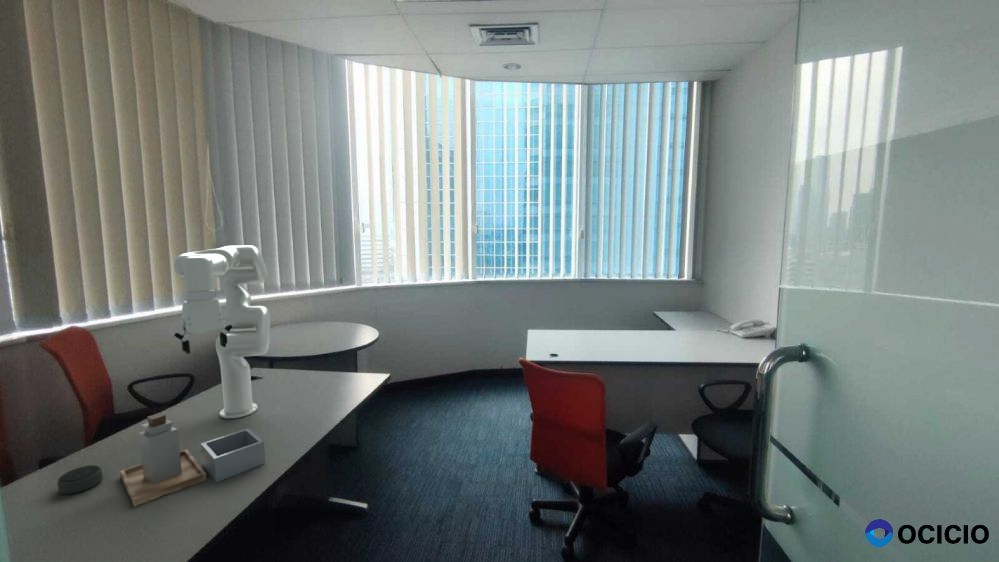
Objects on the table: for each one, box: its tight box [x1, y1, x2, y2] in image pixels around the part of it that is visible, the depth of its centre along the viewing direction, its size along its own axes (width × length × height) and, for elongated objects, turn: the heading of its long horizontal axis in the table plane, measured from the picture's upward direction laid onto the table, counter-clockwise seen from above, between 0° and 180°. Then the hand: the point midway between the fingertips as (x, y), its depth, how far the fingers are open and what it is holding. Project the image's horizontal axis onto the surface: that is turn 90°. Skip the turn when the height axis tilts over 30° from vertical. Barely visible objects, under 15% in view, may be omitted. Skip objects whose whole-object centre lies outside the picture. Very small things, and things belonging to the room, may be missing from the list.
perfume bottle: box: [137, 412, 182, 485], centre depth 123 cm, size 7×7×18 cm
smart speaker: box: [57, 464, 103, 495], centre depth 120 cm, size 9×9×4 cm
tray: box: [119, 449, 207, 507], centre depth 124 cm, size 20×16×2 cm
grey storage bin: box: [200, 428, 266, 483], centre depth 131 cm, size 13×13×7 cm
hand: (205, 349), depth 136 cm, fingers open, 9 cm apart
